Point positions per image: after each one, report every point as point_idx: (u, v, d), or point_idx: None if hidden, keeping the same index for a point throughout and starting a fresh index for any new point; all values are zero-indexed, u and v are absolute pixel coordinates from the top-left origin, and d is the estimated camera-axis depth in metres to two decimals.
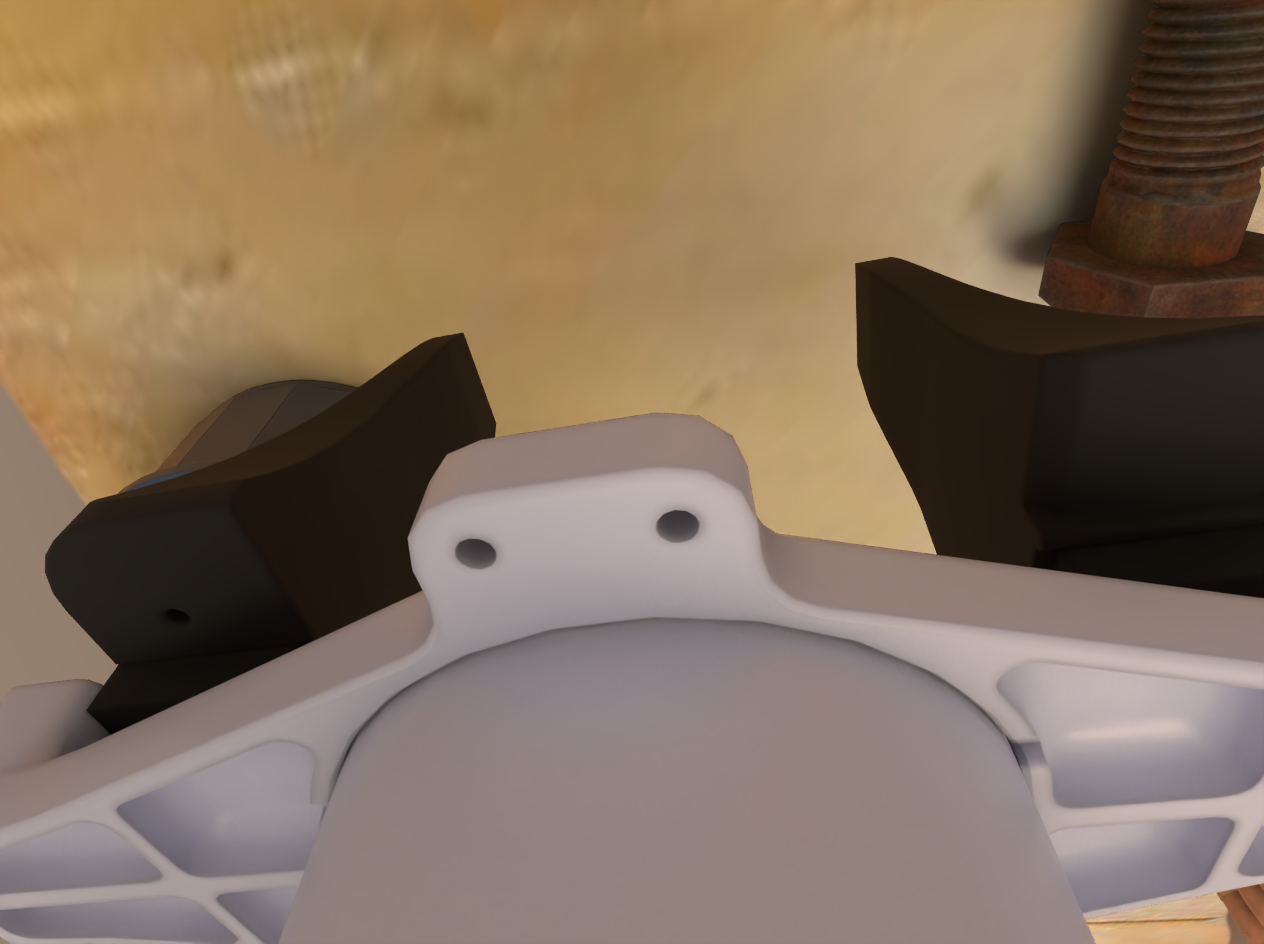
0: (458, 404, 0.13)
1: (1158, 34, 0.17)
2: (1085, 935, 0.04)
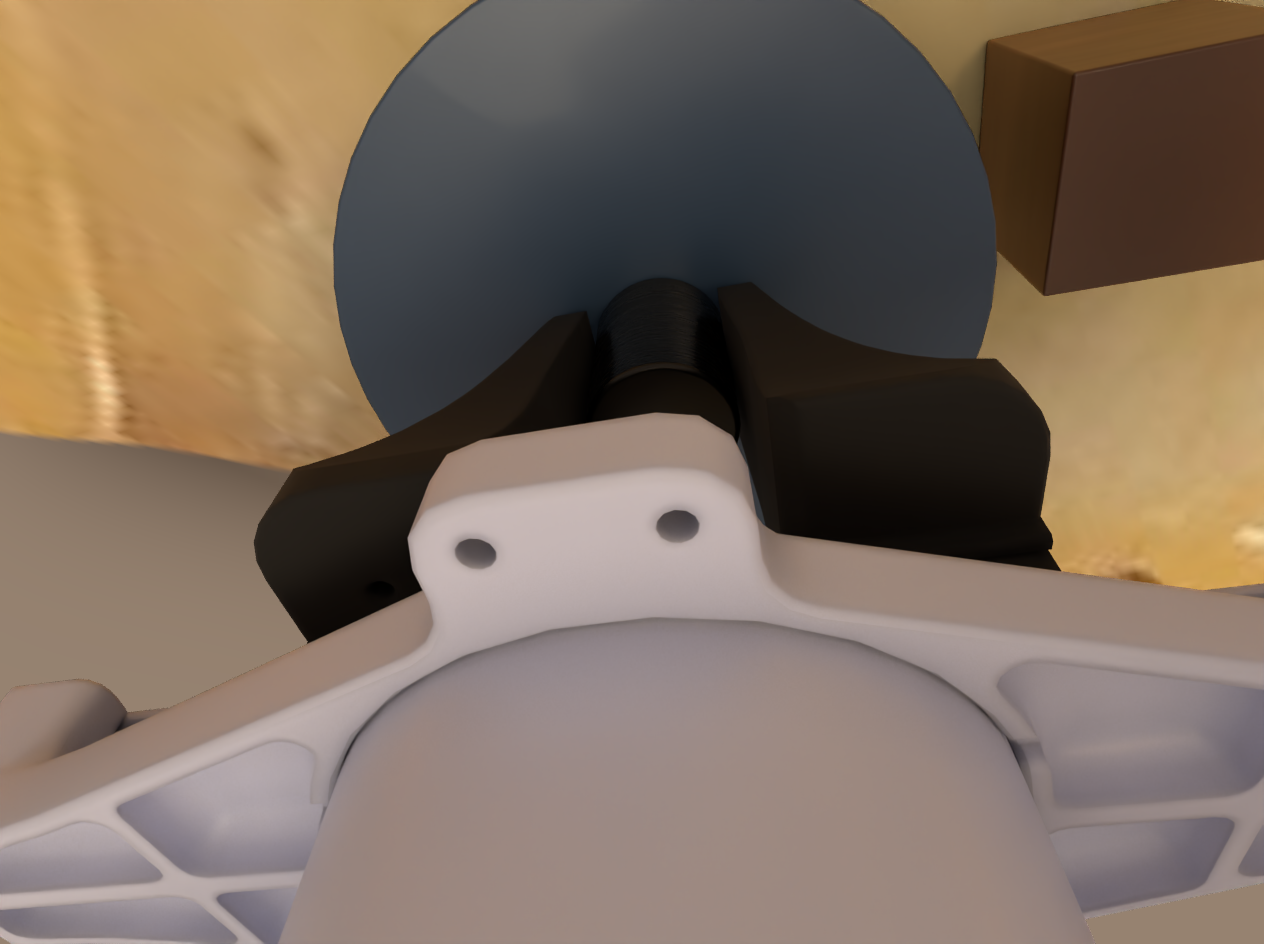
0: (588, 383, 0.13)
1: None
2: (1084, 934, 0.04)
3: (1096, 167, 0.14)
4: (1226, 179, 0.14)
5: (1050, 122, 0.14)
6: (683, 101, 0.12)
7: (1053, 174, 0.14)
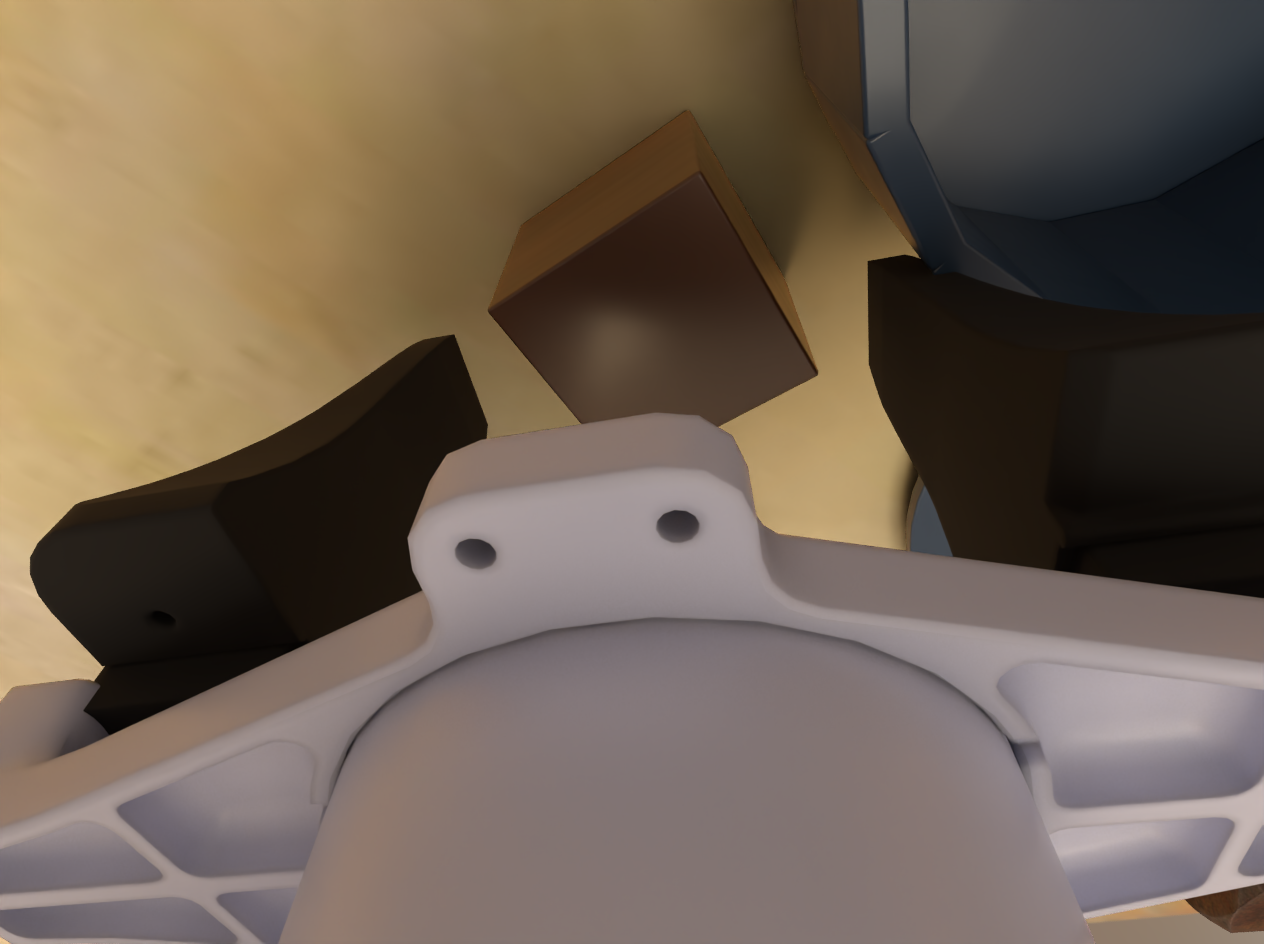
0: (448, 406, 0.13)
1: None
2: (1085, 935, 0.04)
3: (742, 319, 0.13)
4: (604, 357, 0.13)
5: (790, 318, 0.13)
6: None
7: (772, 290, 0.13)
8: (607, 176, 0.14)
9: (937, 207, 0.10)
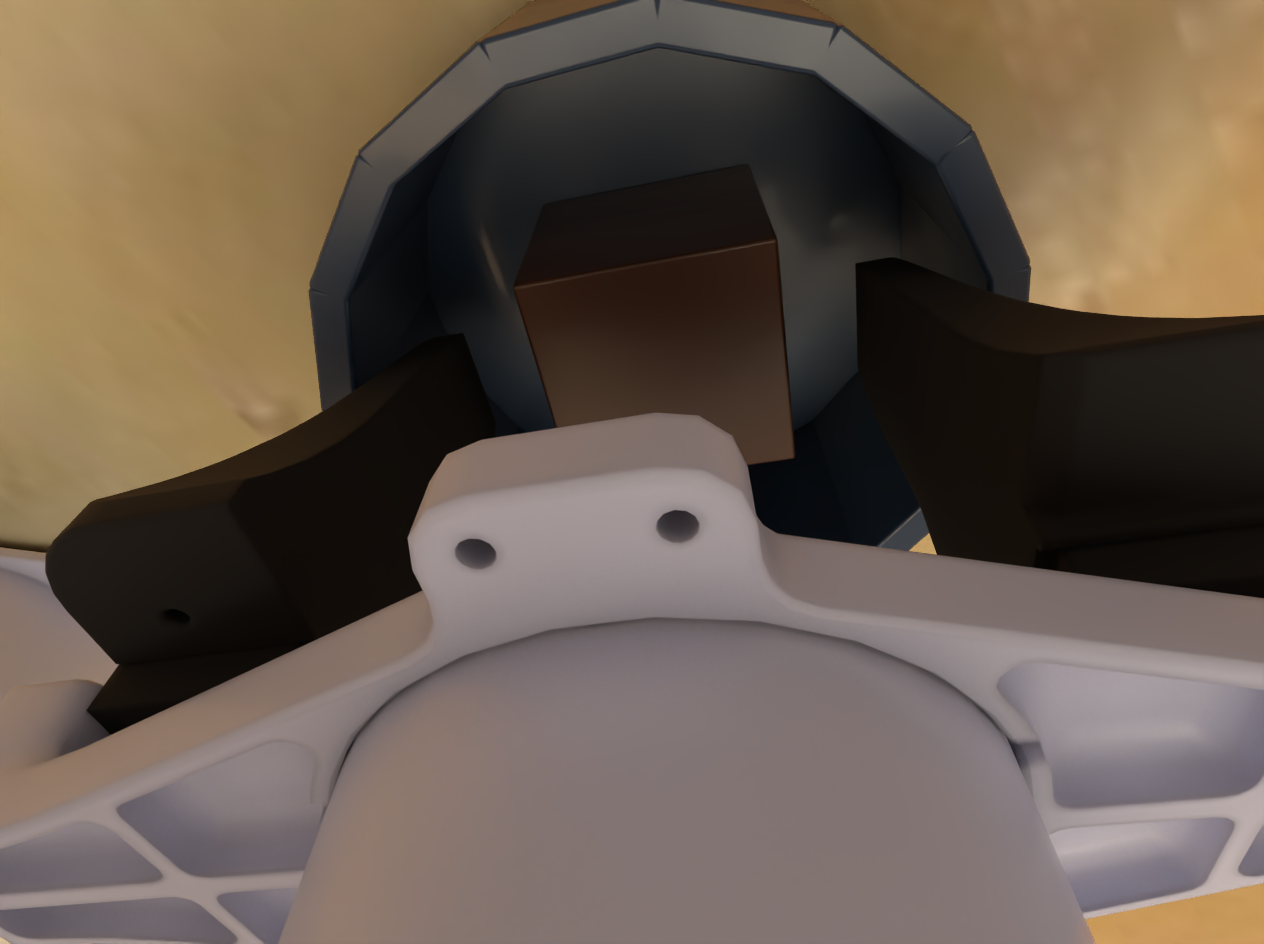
0: (458, 404, 0.13)
1: None
2: (1085, 935, 0.04)
3: (752, 385, 0.13)
4: (608, 373, 0.13)
5: None
6: None
7: (786, 368, 0.13)
8: (655, 195, 0.14)
9: None
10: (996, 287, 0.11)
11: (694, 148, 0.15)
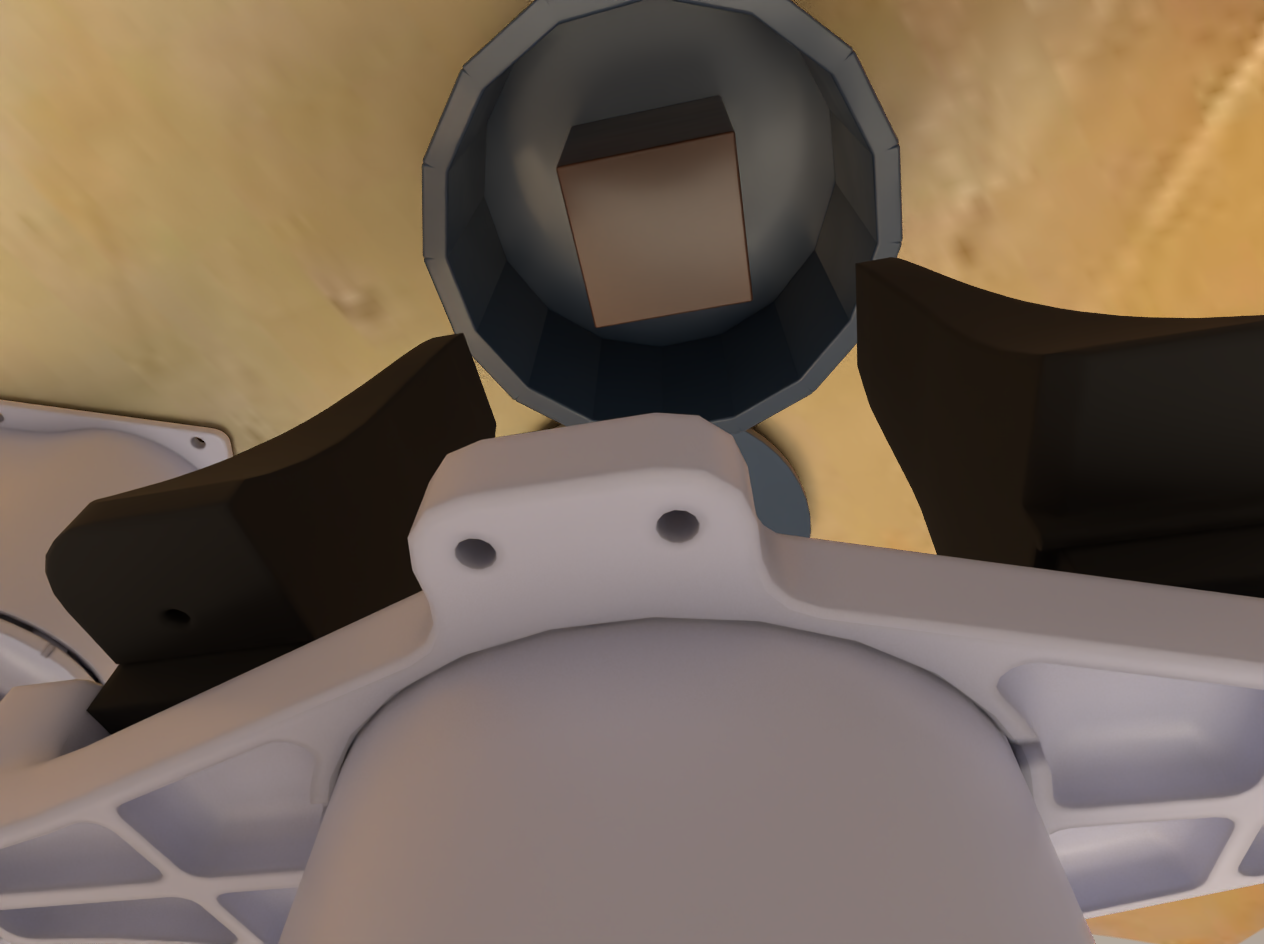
0: (457, 404, 0.13)
1: None
2: (1085, 935, 0.04)
3: (720, 242, 0.18)
4: (620, 233, 0.18)
5: None
6: None
7: (744, 230, 0.19)
8: (653, 116, 0.20)
9: (460, 306, 0.19)
10: (878, 160, 0.17)
11: (681, 83, 0.20)
